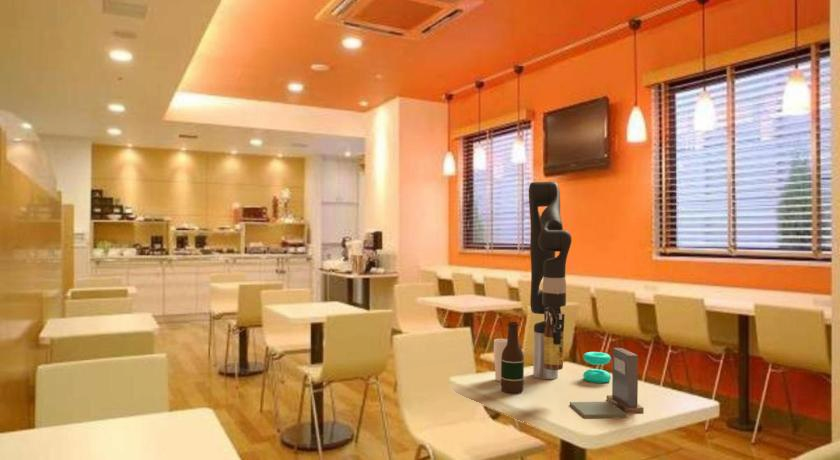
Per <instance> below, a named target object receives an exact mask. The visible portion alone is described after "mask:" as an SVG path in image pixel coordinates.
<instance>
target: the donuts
mask: <svg viewBox="0 0 840 460" xmlns="http://www.w3.org/2000/svg"><path fill="white" fill-rule="evenodd" d="M582 358H583V360H584V361H585V362H586V363H587V364H589V365H597V366H603V365H607V364H609V363H610V362H611V360H612V357H611V356H610V354H608V353H606V352H601V351H589V352H588V351H587V352H585V353H584V354H583V356H582ZM582 377H583V379H584V380H585V381H587V382H590V383H597V384H603V383H608V382H610V380H611V379H612V376H611V374H610V373H609V372H608V371H606V370H604V369H596V368H592V369H591V368H590V369H588V370H585V371H583V374H582Z"/></svg>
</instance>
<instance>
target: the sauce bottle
mask: <svg viewBox="0 0 840 460" xmlns="http://www.w3.org/2000/svg"><path fill="white" fill-rule="evenodd" d="M549 312H552V308H550V307H549V308H548V323H547V324H546V326H545V329H544V332H545V333H544V367H545V368H546V369H549V370H558V371H560V370H563V368H564V348H565V346H564V342H565V341H564V340H565V339H564V335H565V333H564V331H563V332H562V333H561V344H559V345H555V344H554V343H553V333H554V332H553V326H551V321H550V317H549ZM554 323H555V322H554ZM558 328H559V327H558Z"/></svg>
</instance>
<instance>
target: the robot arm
mask: <svg viewBox="0 0 840 460" xmlns="http://www.w3.org/2000/svg"><path fill="white" fill-rule="evenodd" d="M528 206H529V215H530V216H529V219H530V242H529V243H530V247H529V249H530V270H531V275H530V278H531V279H530V301H529V303H530V304H529V305H530V310H531V313H533V314H537V315H538V314H539V315H544V320H543V321H540V322H536V323H535V324H534V325H533V375H532V376H533V377H535V378H536V379H543V380H554V379H555V380H556V379H557V378H558V377H559V376H558V375H559V372H558V371H559V370H549V369H546V368H545V367H544V333H545V332H544V329H545V326H546V324H547V323H548V308H549V307H550V308H552V312H549V317H550V321H551V326H553V332H554V333H553V343H554V344H555V345H559V344H561V333H562V332H564V331H565V329H564V328H565V312H564V313H563V312H562V311H561V310H562V308H561V307H565V306H566V305H567V279H566V265H567V258H568V256H569V251H570V250H571V249H570V248H571V245H572V235H571V233H570V231H568V230H566V229H565V230H564V227H563V222H562V216H561V192H560V187H559V184H558V183H557V182H555V181H535V182H531V183H530V184H529V186H528ZM544 207H546V208H544ZM539 208H544V210H543V211H542V212H541V215H540V212H539ZM556 252H559V253H558V255H557V256H556ZM541 282H542V289H540V285H541ZM554 322H555V323H554ZM558 327H559V328H558Z"/></svg>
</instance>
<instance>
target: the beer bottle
mask: <svg viewBox="0 0 840 460" xmlns="http://www.w3.org/2000/svg"><path fill="white" fill-rule="evenodd" d="M507 326H508V328H507V339H508V340H507V345H506V347H505V348H504V350H503V353H502V359H501V381H500V389H501V392H503V393H505V394H510V395H512V394H513V395H517V394H522V393H523V391H524V383H525V382H524V376H525V373H524V372H525V371H524V368H525V364H524V363H525V362H524V361H525V358H524V352H523V350H522V348H521V346H520V343H519V330H518V327H519V323H518V322H516V321H508V323H507Z"/></svg>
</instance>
